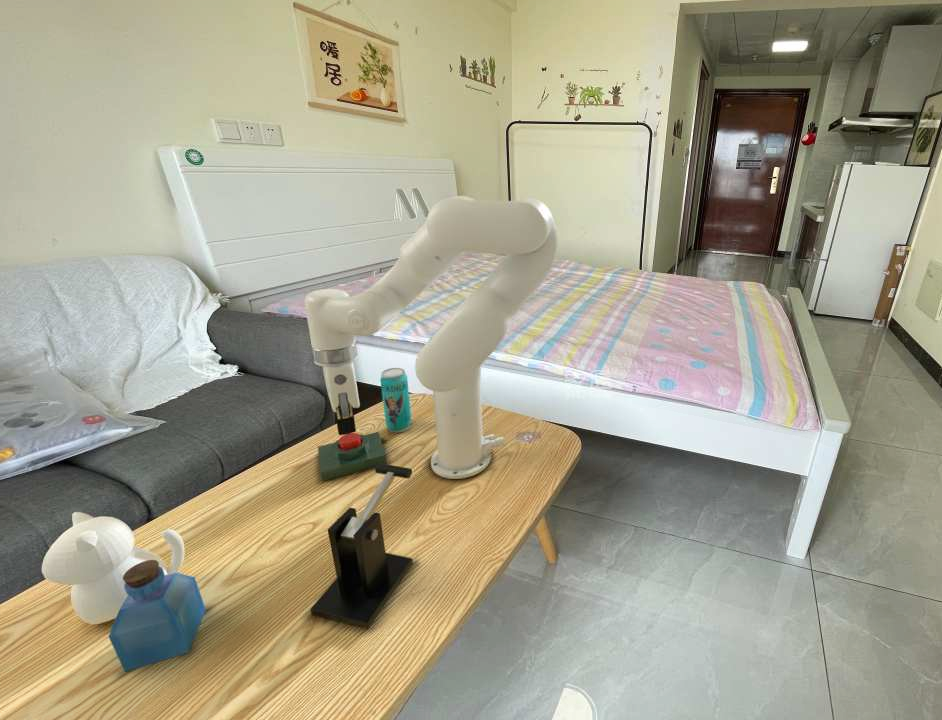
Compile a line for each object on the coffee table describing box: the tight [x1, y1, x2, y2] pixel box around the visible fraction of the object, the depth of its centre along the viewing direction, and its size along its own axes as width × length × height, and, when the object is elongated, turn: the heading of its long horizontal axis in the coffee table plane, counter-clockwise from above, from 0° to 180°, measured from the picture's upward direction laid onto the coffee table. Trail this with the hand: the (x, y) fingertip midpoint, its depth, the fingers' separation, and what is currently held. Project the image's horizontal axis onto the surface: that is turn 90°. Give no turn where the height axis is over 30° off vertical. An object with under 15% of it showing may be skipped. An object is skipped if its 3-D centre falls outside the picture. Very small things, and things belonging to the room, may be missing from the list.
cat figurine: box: [41, 511, 185, 625], centre depth 60 cm, size 9×12×15 cm
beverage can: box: [380, 367, 412, 434], centre depth 104 cm, size 6×6×15 cm
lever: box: [341, 463, 413, 545], centre depth 65 cm, size 12×6×2 cm, turn 169°
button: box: [338, 432, 361, 450], centre depth 92 cm, size 4×4×2 cm
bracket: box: [309, 507, 414, 630], centre depth 63 cm, size 11×9×13 cm
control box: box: [317, 431, 388, 482], centre depth 93 cm, size 12×10×4 cm
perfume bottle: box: [108, 560, 207, 672], centre depth 55 cm, size 6×6×12 cm
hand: (347, 431), depth 92 cm, fingers closed
